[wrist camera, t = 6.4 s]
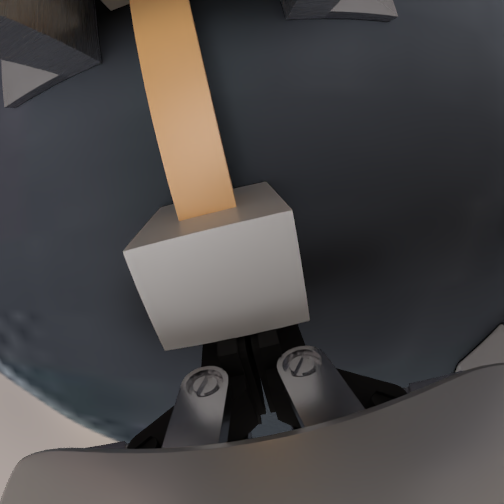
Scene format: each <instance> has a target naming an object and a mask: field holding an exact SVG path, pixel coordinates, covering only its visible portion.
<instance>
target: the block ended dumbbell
mask: <svg viewBox="0 0 504 504" xmlns="http://www.w3.org/2000/svg"><path fill="white" fill-rule="evenodd" d="M101 1H102V2H103V3H104V4H105V5H106V6H107V7H108V8H109V9H110V10H111V11H112V10H114V9H117V8H120V7H122V6H125V5H127V4H130V9H131V15H132V21H133V27H134V33H135V39H136V44H137V50H138V55H139V60H140V66H141V71H142V75H143V80H144V85H145V90H146V94H147V99H148V104H149V108H150V112H151V117H152V121H153V125H154V129H155V134H156V138H157V142H158V146H159V150H160V154H161V158H162V162H163V165H164V169H165V173H166V177H167V181H168V184H169V188H170V192H171V195H172V199H173V202H174V204H171V205H167V206H164V207H160V208H159V210H158V211H157V212H156V213H155V214H154V215H153V216H152V217H151V219H150V220H149V221H148V222H147V223H146V224H145V225H144V227H143V228H142V229H141V230H140V231H139V232H138V234H137V235H136V236H135V237H134V238H133V240H132V241H131V242H130V243H129V244H128V246H127V247H126V248H125V249H124V250H123V254H124V257H125V259H126V262H127V265H128V267H129V270H130V272H131V275H132V277H133V280H134V282H135V285H136V287H137V290H138V292H139V295H140V297H141V299H142V302H143V304H144V306H145V309H146V311H147V313H148V316H149V318H150V320H151V322H152V324H153V327H154V329H155V331H156V333H157V335H158V337H159V340H160V342H161V344H162V346H163V348H164V350H165V351H167V350H173V349H179V348H185V347H191V346H196V345H202V344H207V343H212V342H217V341H221V340H226V339H231V338H237V337H242V336H247V335H251V334H256V333H259V332H264V331H268V330H272V329H277V328H282V327H286V326H290V325H294V324H298V323H302V322H306V321H310V317H309V310H308V303H307V296H306V289H305V283H304V276H303V270H302V264H301V257H300V251H299V245H298V239H297V233H296V228H295V222H294V216H293V211H292V209H291V208H290V207H289V206H288V205H287V204H286V203H285V201H284V200H283V199H282V198H281V197H280V196H279V195H278V194H277V193H276V192H275V191H274V189H273V188H272V187H271V186H270V185H269V184H268V183H267V182H266V181H265V182H261V183H256V184H252V185H247V186H243V187H239V188H234V189H233V186H232V182H231V178H230V173H229V169H228V165H227V161H226V156H225V152H224V148H223V144H222V139H221V135H220V131H219V127H218V122H217V118H216V114H215V109H214V105H213V101H212V96H211V92H210V88H209V84H208V79H207V75H206V71H205V66H204V62H203V58H202V53H201V49H200V45H199V40H198V36H197V32H196V27H195V23H194V19H193V14H192V10H191V5H190V1H189V0H101Z"/></svg>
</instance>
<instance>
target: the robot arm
mask: <svg viewBox="0 0 504 504" xmlns="http://www.w3.org/2000/svg"><path fill="white" fill-rule="evenodd" d="M261 382H262V385H263V389H264V392H265V395H266V399H267V402H268V405H269V408H270V412H271V413H272V412H276V414H277V417H278V420H280V421H282V422H285V423H287V424H289V425H291V429H292V431H288V432H283V433H278V434H273V435H268V436H263V437H258V438H252V433H251V431H252V430H253V429H254V428H255V427H256V426H257V425H258V424H262V422H261V416H260V415H262V414H266V410H265V404H264V397H263V391H262V385H261ZM0 504H504V363H495V364H489V365H483V366H479V367H475V368H472V369H468V370H465V371H459V372H455V373H451V374H448V375H444V376H440V377H436V378H432V379H427V380H423V381H419V382H414V383H409V386H408V387H406V388H401V387H400V386H398V385H395V384H392V383H388V382H384V381H380V380H376V379H373V378H369V377H365V376H362V375H358V374H354V373H351V372H347V371H344V370H340V369H337V368H335V367H334V365H333V364H332V362H331V361H330V360H329V358H328V357H327V355H326V354H325V353H324V352H323V351H322V350H321V349H318V348H316V347H312V346H305V343H304V341H303V338H302V335H301V333H300V330H299V327H298V325H297V324H294V325H290V326H286V327H282V328H277V329H272V330H268V331H264V332H259V333H256V334H251V335H247V336H242V337H237V338H231V339H226V340H221V341H217V342H212V343H207V344H203V351H202V366H201V368H198V369H195V370H194V371H192V372H190V373H189V374H188V375H187V376H186V377H185V378H184V380H183V382H182V384H181V387H180V390H179V393H178V396H177V399H176V402H175V405H174V406H173V407H172V408H170V409H169V410H168V411H167V412H165V413H164V414H163V415H162V416H160V417H159V418H158V419H157V420H155V421H154V422H153V423H152V424H150V425H149V426H148V427H147V428H145V429H144V430H143V431H141V432H140V433H139V434H137V435H136V436H135V437H134V438H133V439H132V440H131V441H130V443H128V444H127V443H126V442H125V441H122V442H117V443H112V444H106V445H101V446H95V447H89V448H58V449H50V450H44V451H40V452H36V453H33V454H31V455H28V456H26V457H24V458H23V459H22V460H20V461H19V462H18V464H17V465H16V467H15V469H14V470H13V472H12V474H11V476H10V478H9V480H8V482H7V485H6V487H5V490H4V492H3V495H2V498H1V501H0Z"/></svg>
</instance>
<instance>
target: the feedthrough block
mask: <svg viewBox="0 0 504 504" xmlns="http://www.w3.org/2000/svg"><path fill="white" fill-rule="evenodd" d="M280 1H281V4H282V8H283V11H284V15H285V19H286V20H290V19H314V18H340V19H363V20H376V21H386V22H389V21H391V20H393V19H395V18H396V17H398V14H397V11H396V8H395V5H394V2H393V0H280ZM0 60H2V84H3V97H4V107H5V108H16V107H17V106H19V105H21V104H22V103H24V102H26V101H27V100H29V99H31V98H32V97H34V96H36V95H37V94H39V93H41V92H43V91H45V90H46V89H48V88H50V87H52V86H54V85H56V84H58V83H60V82H62V81H64V80H66V79H68V78H70V77H72V76H74V75H76V74H78V73H80V72H82V71H85V70H87V69H89V68H91V67H94V66H96V65H98V64H101V63H102V61H101V54H100V46H99V38H98V29H97V18H96V6H95V0H0Z"/></svg>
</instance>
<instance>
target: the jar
mask: <svg viewBox="0 0 504 504" xmlns="http://www.w3.org/2000/svg"><path fill="white" fill-rule="evenodd" d="M495 363H504V325H503V324H500V325H499V326H498V327H497V328H496V329H495V330H494V331H493V332H492V333H491V334H490V335H489V336H488V337H487V338H486V339H485V340H484V341H483V342H482V343H481V344H480V345H479V346H478V347H477V348H475V349H474V350H473V351H472V352H471V353H470V354H469V355H468V356H467V357H465V358H464V359H463V360H462V361H461V362H460V363H459V364H458V366H457V368H456V371H455V372H459V371H465V370H468V369H472V368H475V367H479V366H483V365H489V364H495Z"/></svg>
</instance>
